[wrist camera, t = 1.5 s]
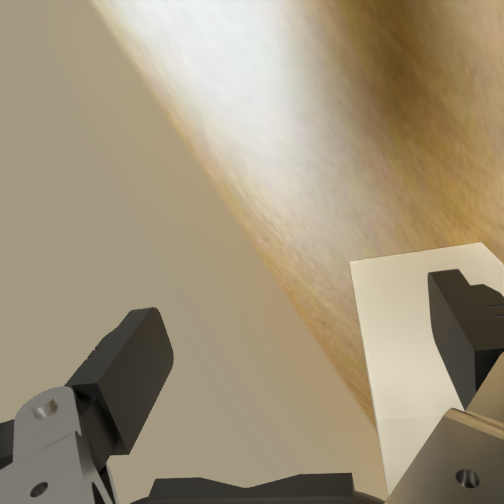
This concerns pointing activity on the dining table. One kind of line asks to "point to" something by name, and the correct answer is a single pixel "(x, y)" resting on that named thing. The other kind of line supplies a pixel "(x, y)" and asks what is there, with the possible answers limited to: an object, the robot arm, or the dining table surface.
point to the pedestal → (410, 344)
